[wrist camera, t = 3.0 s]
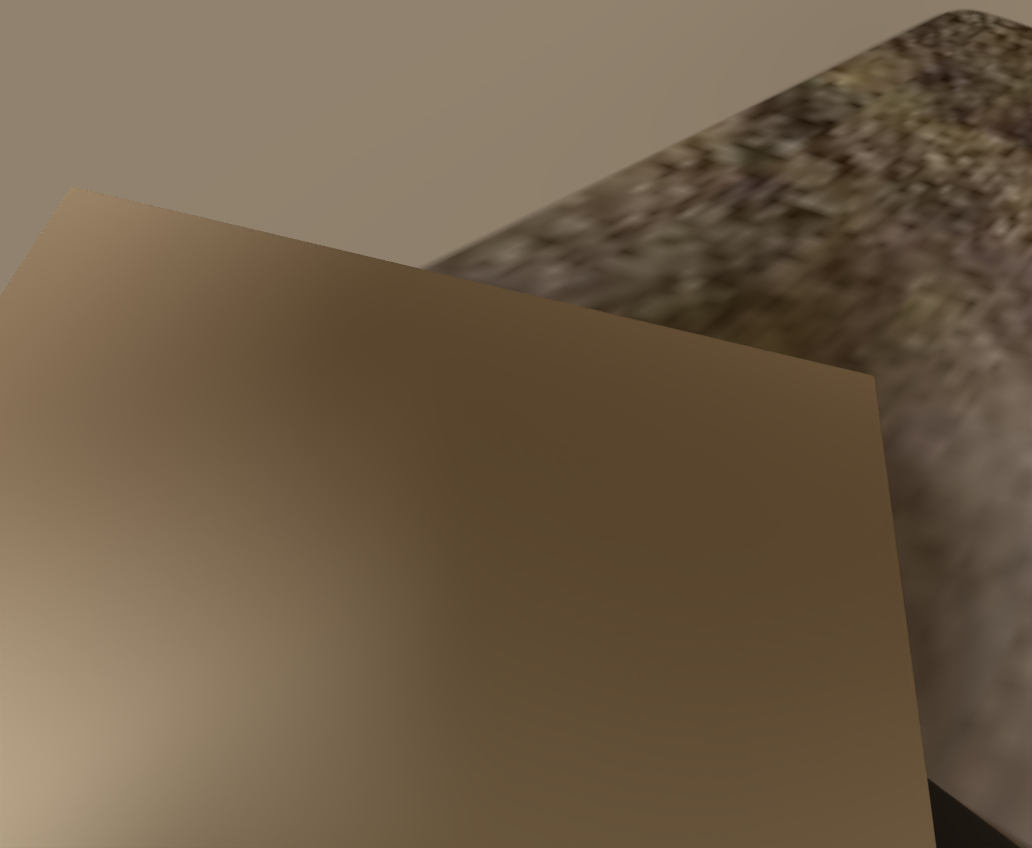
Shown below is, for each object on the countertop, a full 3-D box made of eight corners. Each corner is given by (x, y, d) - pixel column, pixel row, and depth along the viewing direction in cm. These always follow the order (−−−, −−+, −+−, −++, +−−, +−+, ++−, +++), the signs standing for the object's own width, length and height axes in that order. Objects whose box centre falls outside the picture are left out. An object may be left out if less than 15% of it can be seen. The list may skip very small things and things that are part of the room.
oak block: (493, 922, 12) (1066, 1814, 2) (207, 881, 11) (-972, 1797, 1) (531, 634, 14) (874, 376, 4) (295, 590, 13) (69, 186, 4)
